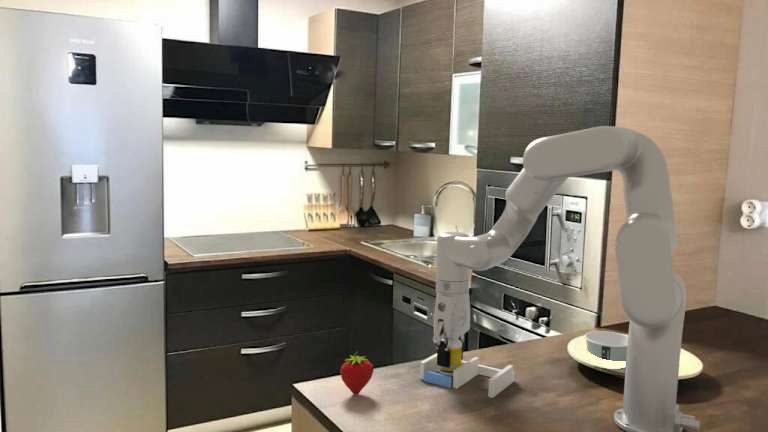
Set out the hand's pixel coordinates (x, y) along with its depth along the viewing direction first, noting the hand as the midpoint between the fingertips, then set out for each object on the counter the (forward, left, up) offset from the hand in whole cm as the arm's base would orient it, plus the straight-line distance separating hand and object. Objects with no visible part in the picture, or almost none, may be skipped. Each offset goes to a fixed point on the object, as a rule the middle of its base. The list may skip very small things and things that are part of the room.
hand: (449, 361), depth 150 cm
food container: (-27, -33, -4) cm, 43 cm away
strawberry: (+11, +21, -4) cm, 24 cm away
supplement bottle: (0, 0, -3) cm, 3 cm away
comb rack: (-4, 0, -4) cm, 6 cm away
